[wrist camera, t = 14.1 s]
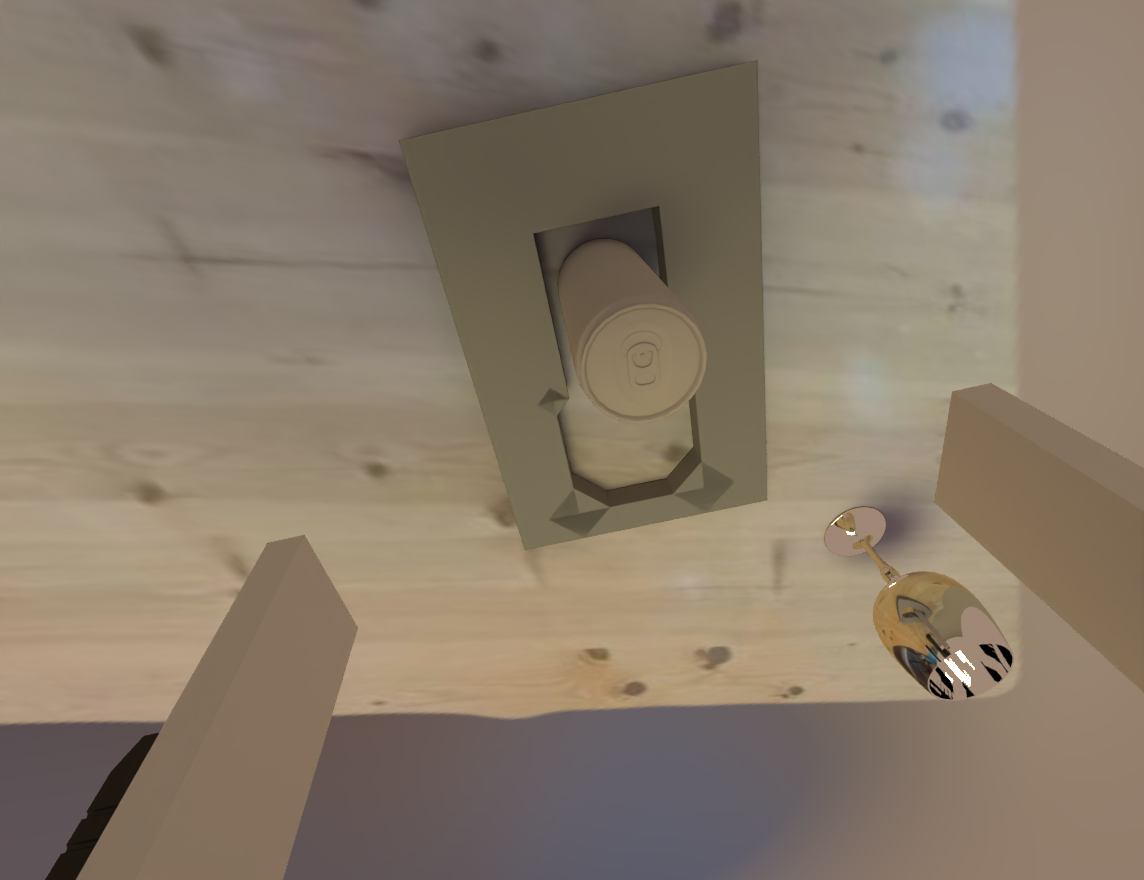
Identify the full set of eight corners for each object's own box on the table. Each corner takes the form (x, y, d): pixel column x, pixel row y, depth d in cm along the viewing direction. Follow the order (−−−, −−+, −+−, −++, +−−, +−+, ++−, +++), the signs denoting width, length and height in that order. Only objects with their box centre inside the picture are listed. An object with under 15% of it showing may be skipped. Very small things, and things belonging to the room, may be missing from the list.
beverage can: (640, 227, 29) (707, 286, 19) (649, 317, 32) (714, 413, 21) (548, 245, 29) (565, 314, 19) (565, 333, 32) (588, 437, 21)
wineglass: (825, 573, 43) (925, 719, 32) (806, 520, 40) (909, 661, 29) (900, 543, 42) (1028, 683, 31) (886, 486, 39) (1021, 619, 28)
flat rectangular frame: (405, 139, 26) (398, 140, 25) (742, 63, 26) (757, 60, 24) (524, 532, 38) (524, 550, 37) (757, 484, 38) (767, 500, 36)
